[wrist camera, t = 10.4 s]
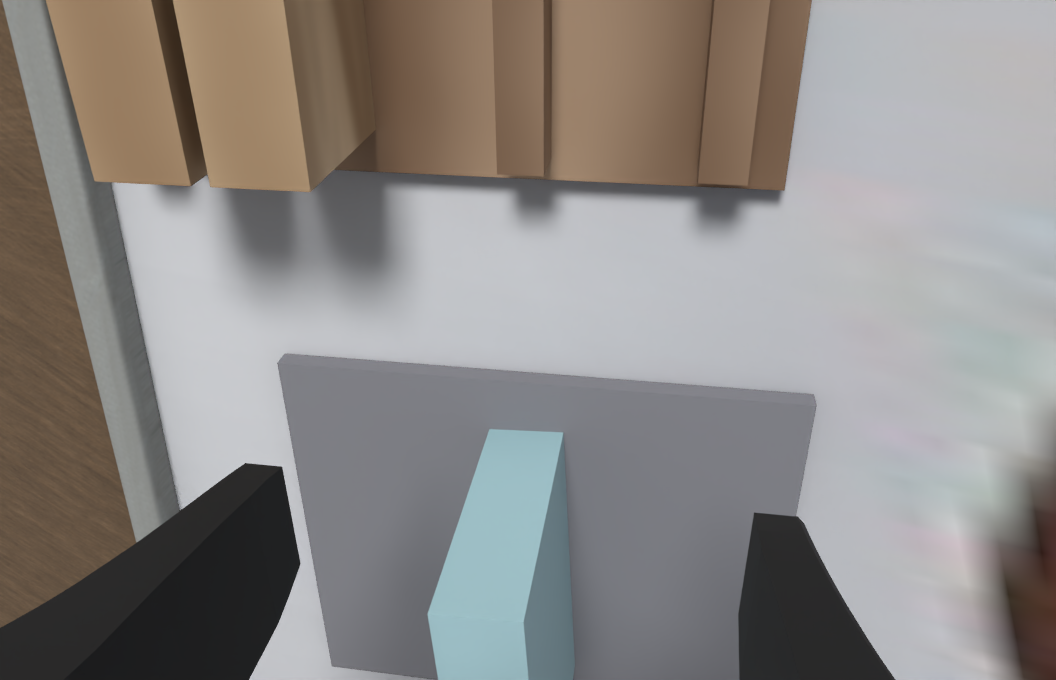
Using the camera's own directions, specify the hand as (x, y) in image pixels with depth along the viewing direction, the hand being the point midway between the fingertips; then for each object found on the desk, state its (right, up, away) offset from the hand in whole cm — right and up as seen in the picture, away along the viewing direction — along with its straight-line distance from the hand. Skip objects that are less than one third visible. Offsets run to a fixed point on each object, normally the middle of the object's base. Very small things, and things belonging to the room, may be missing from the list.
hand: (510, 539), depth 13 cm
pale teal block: (0, -3, +12) cm, 13 cm away
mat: (+1, -3, +13) cm, 13 cm away
